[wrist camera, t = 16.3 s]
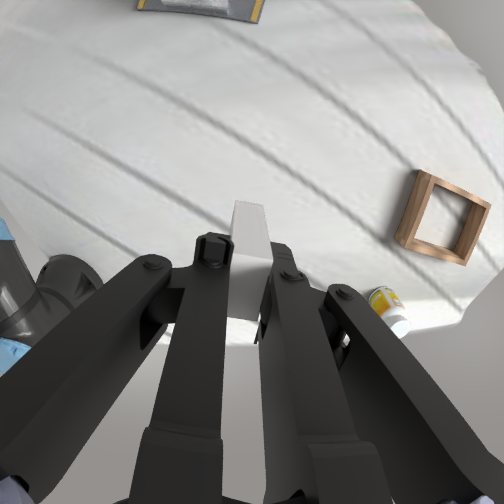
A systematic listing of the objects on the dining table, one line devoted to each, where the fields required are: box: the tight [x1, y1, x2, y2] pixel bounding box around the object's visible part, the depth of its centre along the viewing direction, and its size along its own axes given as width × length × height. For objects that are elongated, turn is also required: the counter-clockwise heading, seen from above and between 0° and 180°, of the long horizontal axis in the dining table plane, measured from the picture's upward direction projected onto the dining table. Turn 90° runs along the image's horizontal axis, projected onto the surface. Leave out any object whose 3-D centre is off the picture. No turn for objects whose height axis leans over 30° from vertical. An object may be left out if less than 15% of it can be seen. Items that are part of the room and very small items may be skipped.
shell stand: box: [395, 169, 492, 266], centre depth 45 cm, size 16×12×4 cm
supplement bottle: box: [369, 287, 410, 338], centre depth 50 cm, size 5×5×10 cm
